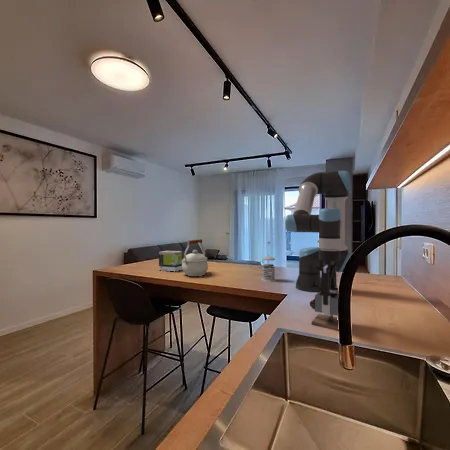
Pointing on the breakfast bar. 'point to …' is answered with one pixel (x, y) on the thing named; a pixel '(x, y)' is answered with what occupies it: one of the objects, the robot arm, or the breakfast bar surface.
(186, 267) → the kettle
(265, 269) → the french press
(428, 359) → the breakfast bar surface
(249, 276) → the breakfast bar surface
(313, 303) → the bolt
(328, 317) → the keeper post
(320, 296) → the grey open box
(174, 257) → the tea box
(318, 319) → the keeper base
